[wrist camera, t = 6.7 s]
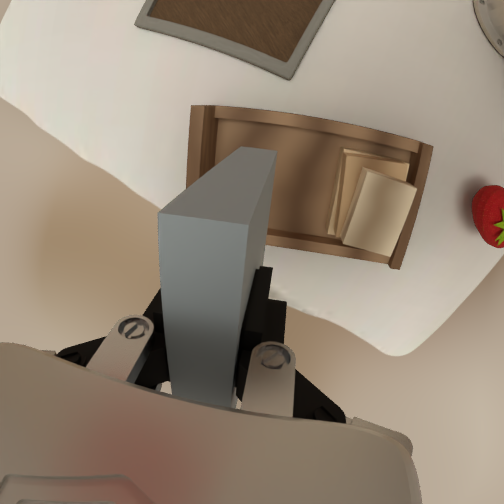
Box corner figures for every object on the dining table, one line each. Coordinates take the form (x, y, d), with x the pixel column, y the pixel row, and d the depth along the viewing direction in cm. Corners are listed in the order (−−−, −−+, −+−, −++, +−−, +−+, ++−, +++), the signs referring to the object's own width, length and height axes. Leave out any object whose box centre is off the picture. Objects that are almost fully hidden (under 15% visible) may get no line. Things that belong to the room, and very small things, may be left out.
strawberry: (482, 164, 28) (531, 188, 19) (497, 215, 31) (540, 248, 22) (448, 186, 30) (492, 216, 22) (466, 236, 33) (504, 275, 24)
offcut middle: (400, 160, 27) (407, 164, 25) (387, 234, 31) (392, 242, 29) (342, 152, 28) (346, 155, 26) (333, 228, 31) (335, 237, 29)
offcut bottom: (402, 160, 29) (409, 164, 27) (383, 236, 33) (388, 244, 31) (340, 146, 29) (344, 148, 28) (325, 226, 34) (327, 234, 32)
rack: (418, 141, 29) (446, 151, 23) (390, 253, 35) (407, 284, 29) (211, 105, 30) (191, 105, 24) (203, 224, 37) (184, 250, 30)
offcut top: (409, 183, 26) (417, 188, 24) (385, 247, 29) (390, 257, 27) (362, 166, 26) (367, 171, 24) (340, 235, 29) (342, 243, 27)
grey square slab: (277, 150, 16) (249, 225, 6) (257, 302, 21) (226, 450, 11) (240, 146, 16) (157, 212, 6) (228, 297, 21) (179, 440, 11)
